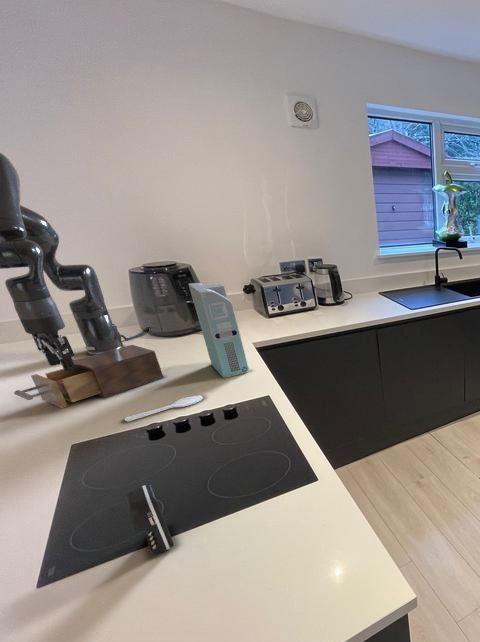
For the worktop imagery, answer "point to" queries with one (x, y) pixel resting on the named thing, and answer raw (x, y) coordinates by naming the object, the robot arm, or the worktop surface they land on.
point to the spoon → (167, 407)
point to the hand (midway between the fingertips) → (62, 367)
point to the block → (62, 388)
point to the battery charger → (149, 518)
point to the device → (219, 328)
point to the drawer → (75, 386)
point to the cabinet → (122, 368)
